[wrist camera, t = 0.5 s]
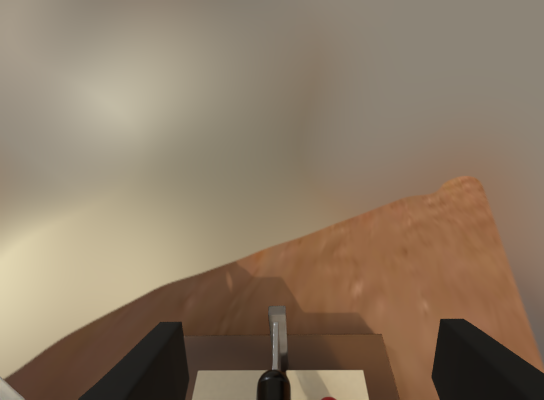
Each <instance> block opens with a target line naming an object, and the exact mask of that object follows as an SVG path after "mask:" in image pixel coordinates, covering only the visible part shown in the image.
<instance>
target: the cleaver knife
mask: <svg viewBox="0 0 544 400" xmlns="http://www.w3.org/2000/svg"><path fill="white" fill-rule="evenodd" d="M256 400H291V384H290V381H289V379H288V377H287V376H286V374H285V373H283V372H282V371H281V351H280V338H279V325H278V322H274V332H273V369H270V370H267V371H266V372H264V373H263V374H262V375H261V377H260V378H259V380H258V383H257V392H256Z"/></svg>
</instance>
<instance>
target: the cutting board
mask: <svg viewBox="0 0 544 400" xmlns="http://www.w3.org/2000/svg"><path fill="white" fill-rule="evenodd" d="M268 316H269V326H270V335H224V336H184V343H185V350H186V357H187V364H188V371H189V378H190V379H189V384H188V389H187V393H186V398H185V400H192V397H193V392H194V387H195V383H196V378H197V373H198V371H224V370H270V369H273V332H274V322H278V325H279V338H280V351H281V371H282V372H283V373H285V374H286V370H363V373H364V378H365V383H366V388H367V393H368V397H369V400H400V398H399V395H398V391H397V387H396V384H395V380H394V377H393V373H392V369H391V366H390V362H389V358H388V355H387V351H386V348H385V344H384V340H383V337H382V334H335V335H287V326H286V307H285V306H269V312H268Z"/></svg>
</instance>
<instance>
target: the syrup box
mask: <svg viewBox="0 0 544 400" xmlns="http://www.w3.org/2000/svg"><path fill="white" fill-rule="evenodd" d="M0 400H25V399H24V398H23V397H22V396H21V395H20V394H19V393H18V392H17V391H15V390H14V389H13V388H12V387H11V386H10V385H9V384H8V383H7V382H5V381H4V380H3V379H2V378H1V377H0Z"/></svg>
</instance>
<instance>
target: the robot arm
mask: <svg viewBox="0 0 544 400" xmlns="http://www.w3.org/2000/svg"><path fill="white" fill-rule="evenodd" d="M189 379H190V378H189V371H188V364H187V357H186V350H185V343H184V335H183V328H182V322H160V323H159V324H158V325H157V326H156V327H155V328H154V329H153V330H152V331H151V332H149V333H148V334H147V335H146V336H145V337H144V338H143V339H142V340H141V341H140V342H139V343H138V344H137V345H136V346H135V347H134V348H133V349H132V350H131V351H130V352H129V353H128V354H127V355H126V356H125V357H124V358H123V359H122V360H121V361H120V362H119V363H117V364H116V365H115V366H114V367H113V368H112V369H111V370H110V371H109V372H108V373H107V374H106V375H105V376H104V377H103V378H102V379H100V380H99V381H98V382H97V383H96V384H95V385H94V386H93V387H92V388H90V389H89V390H88V391H87V392H86V393H85V394H84V395H82V396H81V397H80V398H79V399H78V400H185V398H186V393H187V389H188V384H189ZM432 380H433V383H434V385H435V388H436V390H437V393H438V396H439V398H440V400H544V373H542V372H541V371H539V370H538V369H536V368H535V367H534V366H532V365H531V364H529V363H528V362H526V361H525V360H523V359H522V358H520V357H519V356H518V355H516V354H515V353H513V352H512V351H510V350H509V349H507V348H506V347H505V346H503V345H502V344H500V343H499V342H497V341H496V340H494V339H493V338H492V337H490V336H489V335H487V334H486V333H484V332H483V331H481V330H480V329H478V328H477V327H475V326H474V325H472V324H471V323H469V322H468V321H466V320H464V319H440V326H439V332H438V338H437V345H436V351H435V358H434V364H433V371H432Z"/></svg>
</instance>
